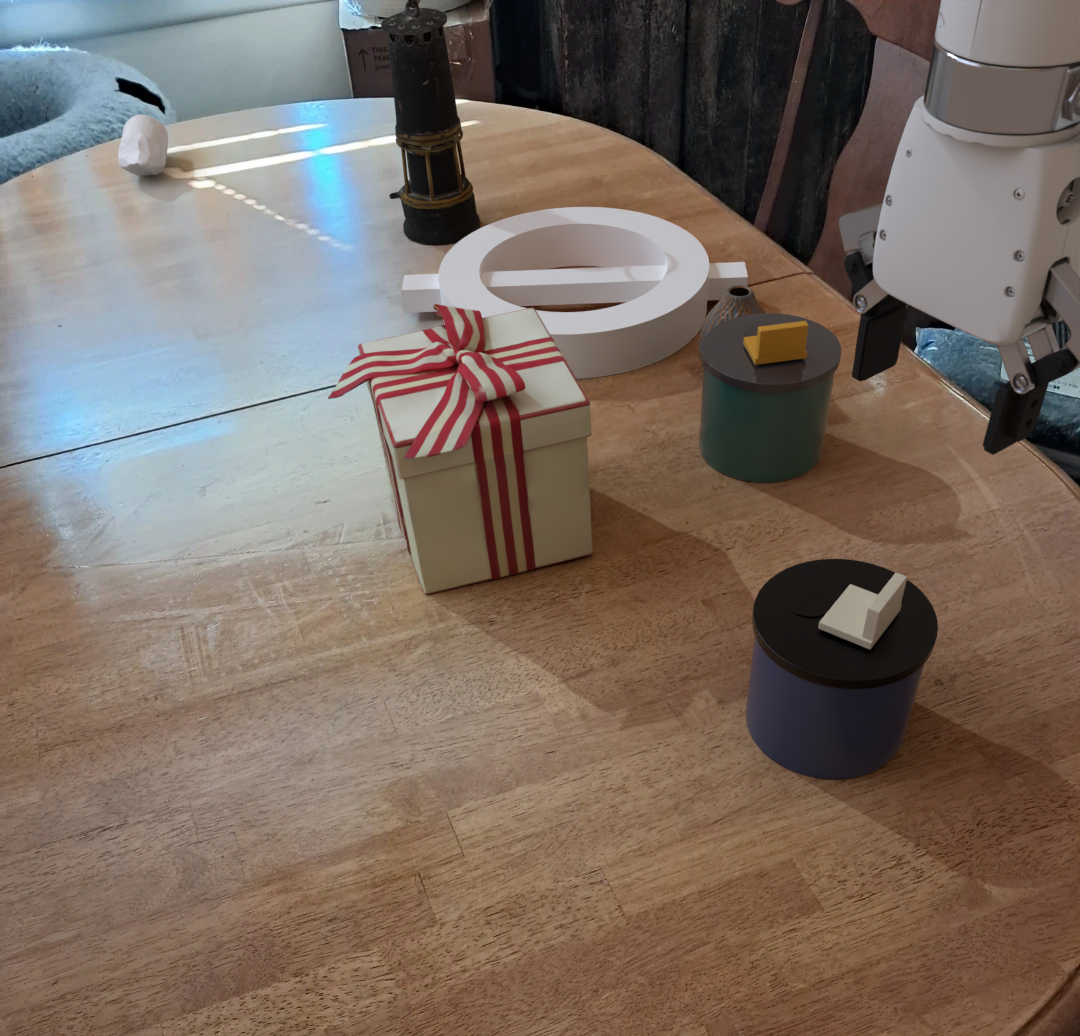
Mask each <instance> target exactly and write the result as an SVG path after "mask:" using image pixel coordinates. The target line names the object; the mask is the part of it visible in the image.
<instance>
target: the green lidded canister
mask: <svg viewBox="0 0 1080 1036" xmlns="http://www.w3.org/2000/svg"><path fill="white" fill-rule="evenodd" d="M800 321H806V322H807V324H808V333H807V341H806V351H807V358H805V359H798V360H790V361H782V362H774V363H767V364H759V365H755V364H754V362H753V360H752V358H751V357H750V355H749V353H748V351H747V349H746V347H745V346H744V344H743V340H744V337H750V336H757V332H758V327H760V326H768V325H776V324H784V323H792V322H800ZM841 357H842V345H841V342H840V340H839V338H837V336H836V335H835V334H834V333H833V332H832V331H831V330H830V329H829V328H827V327H825V326H824V325H822V324H820V323H819V322H816V321H814V320H811V319H809V318H805V317H803V316H802V317H801V316H798V315H793V314H788V313H787V314H786V313H777V312H776V313H775V312H773V313H772V312H766V313H759V314H750V315H744V316H739V317H735V318H732V319H729V320H727V321H724V322H722V323H720V324H718V325H717V326H715V327H714V328H712V329H711V330H710V331H709V332H708V333H707V334H706V336H705V337H704V339H703V341H702V346H701V359H700V361H701V360H702V362H703V365H704V368H703V372H702V374H703V375H702V390H701V404H700V405H701V407H700V422H699V423H700V424H699V438H698V439H699V442H698V446H699V452H700V454H701V455H700V456H701V457H702V458H703V460H704V461H705V462H706V463H707V464H708V465H709V467H711V468H712V469H713V470H715V471H716V472H719V473H720V474H722V475H725V476H727V477H729V478H733V479H736V480H740V481H743V482H744V481H745V482H751V483H776V482H783V481H788V480H792V479H795V478H798V477H801V476H802V475H804V474H806V473H808V472H810V471H811V470H812V469H813V468H815V466H816V465H817V464H818V463H819V462H820V460H821V458H822V456H823V452H824V445H825V439H826V433H827V432H826V431H827V426H828V418H829V413H830V405H831V399H832V392H833V388H834V387H833V386H834V379H835V374H836V373H835V372H836V371H837V370H838V368H839V366H840V363H841V359H842V358H841Z"/></svg>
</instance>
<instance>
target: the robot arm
mask: <svg viewBox="0 0 1080 1036" xmlns="http://www.w3.org/2000/svg"><path fill="white" fill-rule="evenodd" d="M889 173H890V174H889V176H888V181H887V184H886V189H885V192H884V197H883V200H882V203H878V204H873V205H869V206H865V207H860V208H857V209H855V210H853V211H850V212H847V213H845V214H843V215H841V216H840V217H839V219H838V228H839V232H840V238H841V242H842V247H843V252H844V253H846V257H845V258H844V262H843V266H844V270H845V272H846V275H847V277H848V279H849V281H850V283H851V286H852V287H853V290H854V293H855V294H854V295H853V297H852V305H853V308H854V310H855V311H856V312H857V313H858V314H860V319H859V325H858V330H857V337H856V343H855V348H854V358H853V363H852V370H851V377H852V378H853V379H854V380H856V381H858V382H862V381H866V380H869V379H871V378H873V377H875V376H876V375H879V374H881V373H883V372H885V371H887V370H889V369H891V368H893V367H894V366H896V364H897V363H898V359H899V354H900V350H901V349H900V348H901V343H902V338H903V334H904V328H905V323H906V317H907V313H908V308H907V306H910V307H912V308H914V309H916V310H918V311H921V312H922V313H924V314H926V315H929V316H931V317H933V318H934V319H937V320H939V321H941V322H943V323H944V324H946V325H949V326H952V327H953V328H956V329H958V330H959V331H962V332H964V333H966V334H968V335H970V336H972V337H973V338H977V339H979V340H981V341H983V342H986V343H988V344H990V345H995V346H996V347H997V350H998V353H999V355H1000V358H1001V362H1002V364H1003V367H1004V370H1005V373H1006V375H1007V378H1008V381H1007V382H1006V383H1004V384H1002V385H1000V386H999V388H998V389H997V391H996V394H995V397H994V401H993V405H992V408H991V412H990V416H989V419H988V423H987V427H986V431H985V434H984V438H983V442H982V447H983V451H984V452H987V453H988V454H990V455H992V456H994V455H996V454H998V453H999V452H1002V451H1003V450H1005V449H1007V448H1009V447H1011V446H1012V445H1014V444H1017V443H1018V442H1021V441H1023V440H1025V439H1027V438H1028V437H1030V435H1031V434H1032V433H1033V432H1034V430H1035V428H1036V426H1037V423H1038V420H1039V416H1040V414H1041V410H1042V407H1043V404H1044V400H1045V397H1046V394H1047V390H1048V387H1049V384H1050V383H1051V382H1053V381H1056V380H1058V379H1061V378H1063V377H1065V376H1067V375H1068V374H1070V373H1072V372H1075V371H1076V370H1078V369H1080V0H940V5H939V10H938V16H937V21H936V27H935V33H934V39H933V44H932V50H931V56H930V61H929V66H928V73H927V77H926V84H925V90H924V94H923V95H922V96H920V97H919V98H917V99H916V101H915V102H914V104H913V107H912V109H911V111H910V114H909V117H908V119H907V121H906V123H905V126H904V129H903V132H902V135H901V137H900V140H899V143H898V146H897V149H896V152H895V156H894V159H893V162H892V166H891V170H890V172H889ZM875 232H876V235H875V236H874V233H875ZM874 237H875V238H874ZM1062 321H1063V323H1065V325H1066V326H1067V328H1069V331H1070V337H1069V339H1068V340H1067V342H1066V343H1064V346H1062V347H1061V348H1060V345H1059V343H1058V339H1057V337H1056V334H1055V330H1054V328H1053V323H1060V322H1062ZM1026 338H1027V341H1028V344H1029V347H1030V349H1031V352H1032V355H1033V358H1034V361H1033V362H1032V361H1031V358H1030V355H1029V352H1028V349H1027V346H1026V343H1025V341H1024V339H1026Z"/></svg>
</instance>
